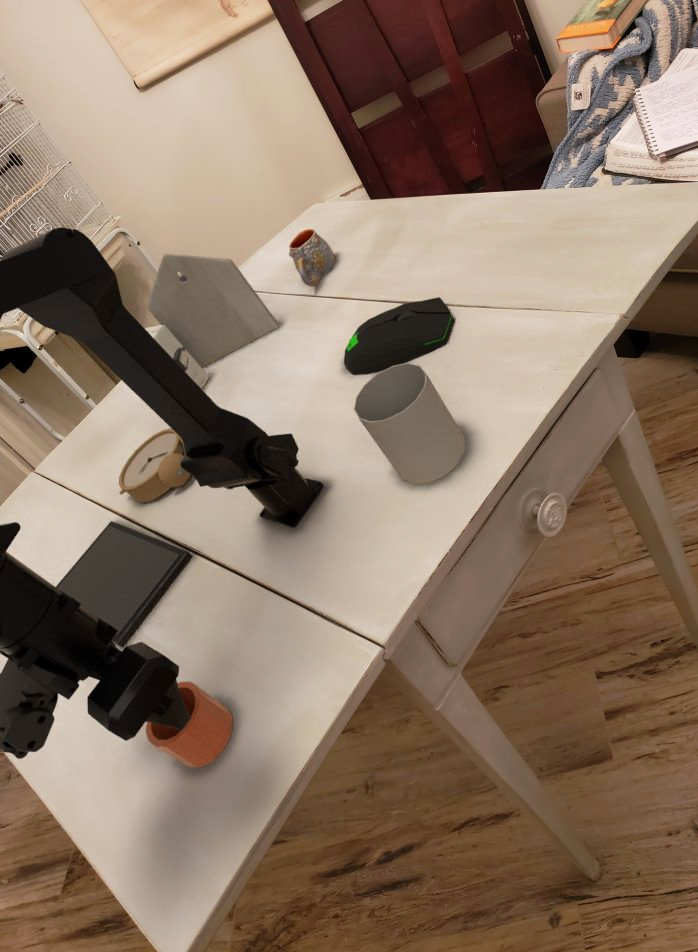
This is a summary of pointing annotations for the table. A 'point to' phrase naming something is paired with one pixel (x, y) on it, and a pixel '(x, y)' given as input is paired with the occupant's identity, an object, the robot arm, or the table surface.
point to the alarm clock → (154, 467)
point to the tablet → (123, 577)
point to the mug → (311, 256)
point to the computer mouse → (399, 336)
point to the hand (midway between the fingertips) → (157, 703)
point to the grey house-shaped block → (207, 306)
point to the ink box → (178, 353)
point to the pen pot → (195, 729)
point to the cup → (410, 423)
